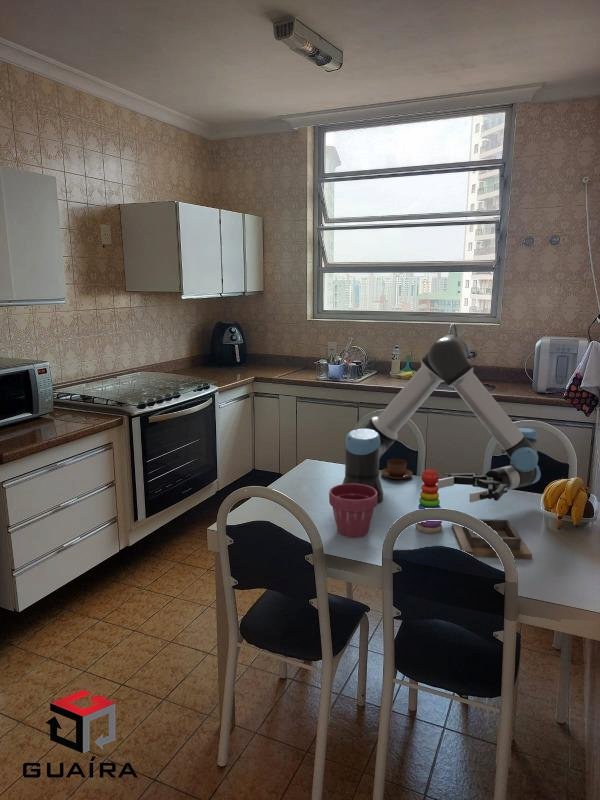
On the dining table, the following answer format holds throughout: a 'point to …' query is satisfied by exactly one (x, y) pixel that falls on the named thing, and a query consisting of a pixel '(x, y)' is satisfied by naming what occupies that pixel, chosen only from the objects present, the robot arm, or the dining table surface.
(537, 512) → the dining table surface
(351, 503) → the plant pot
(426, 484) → the stacking toy
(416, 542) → the dining table surface
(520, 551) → the wooden divided tray
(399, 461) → the cup and saucer
